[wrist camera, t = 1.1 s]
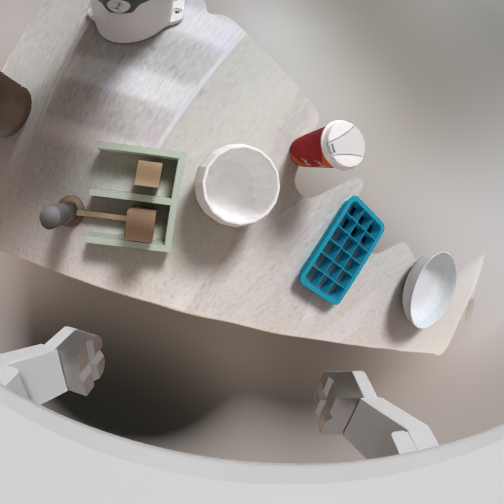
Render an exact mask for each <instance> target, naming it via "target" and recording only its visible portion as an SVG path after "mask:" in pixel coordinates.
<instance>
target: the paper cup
mask: <svg viewBox="0 0 504 504" xmlns="http://www.w3.org/2000/svg"><path fill="white" fill-rule="evenodd" d="M364 152H365V143H364V139H363V136H362V134H361V132H360V131H359V130H358V129H357V128H356V127H355V126H354V125H353V124H351V123H348V122H346V121H342V120H336V121H333V122H331V123H329V124H328V125H327V126H326V127H323V128H320V129H318V130H316V131H313V132H311V133H308V134H306V135H304V136H302V137H300V138H298V139H296V140H295V141H294V142H293V143H292V145H291V148H290V154H291V157H292V159H293V161H294V162H295V163H296V164H298V165H300V166H303V167H324V168H336V169H339V170H350V169H352V168H354V167H355V166H356V165H357V164H359V163H360V162H361V160H362V159H363V156H364Z"/></svg>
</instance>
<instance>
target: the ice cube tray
mask: <svg viewBox="0 0 504 504" xmlns="http://www.w3.org/2000/svg"><path fill="white" fill-rule="evenodd" d="M351 205H352V206H353V207H352V209H351V211H350V212H349V214H348V213H347V211H348V209H349V207H350V206H351ZM343 217H345V218H346V220H345V222H344V224H343V226H342V227H341V226H340V225H339V224H340V222H341V220H342V219H343ZM336 229H338V230H339V231H340V232H341V235H340V236H339V238H338V239H337V241H336V242H335V241H334V240H332V239H331V236H332V235H333V233H334V232H335V230H336ZM383 232H384V224H383V222H381V220H380V219H379V218H378V217H377V216H376V215H375V214H374V213H373V212H372V211H371V210H370V209H369V208H368V207H367V206H366V205H365V204H364V203H363V202H362V201H361V200H360V199H359V198H358V197H357V196H352V197H351V198H350V199H349V200H348V201H345V202H344V203H343V205H342V206H341V208H340V209H339V211H338V213H337V214H336V216H335V218H334V219H333V221H332V222H331V224H330V225H329V227H328V229H327V230H326V232H325V233H324V235H323V237H322V238H321V240H320V241H319V243H318V244H317V246H316V247H315V249H314V251H313V252H312V254H311V255H310V257H309V258H308V260H307V261H306V263H305V264H304V266H303V267H302V269H301V271H300V281H301V284H303V285H304V286H306V287H307V288H309V289H310V290H312V291H313V292H315V293H316V294H318V295H319V296H321V297H322V298H324V299H325V300H327V301H328V302H330V303H331V304H333V305H337V304H339V303H340V302H341V300H342V299H343V297H344V296H345V294H346V293H347V291H348V290H349V288H350V286H351V285H352V283H353V282H354V280H355V279H356V277H357V275H358V274H359V272H360V271H361V269H362V267H363V266H364V264H365V262H366V261H367V259H368V257H369V256H370V254H371V252H372V251H373V249H374V247H375V246H376V244H377V242H378V240H379V239H380V237H381V235H382V234H383ZM347 239H349V240H350V241H351V242H350V243H349V245H348V247H347V248H346V250H344V249H343V248H342V247H343V245H344V244H345V242H346V240H347ZM328 241H329V242H330V243H332V244H333V245H334V246H333V247H332V249H331V251H330V252H329V254H328V255H326V254H325V253H324V252H322V251H323V249H324V247H325V246H326V244H327V243H328ZM360 241H362V243H363V245H361V244H360ZM357 247H358V248H359V249H360V250H359V252H358V254H357V255H356V257H355V258H354V257H352V254H353V253H354V251H355V249H356V248H357ZM340 251H341V252H342V253H343V255H342V256H341V258H340V259H339V261H338V263H336V262H335V261H334V259H335V258H336V256H337V255H338V253H339V252H340ZM320 254H322V255H323V256H324V257H325V260H324V262H323V263H322V265H321V266H320V268H319V269H318V268H317V267H316V266H314V265H313V264H314V263H315V261H316V260H317V258H318V257H319V255H320ZM349 259H351V260H352V261H353V262H352V263H351V265H350V267H349V268H348V270H347V271H346V270H345V269H344V267H345V265H346V264H347V262H348V261H349ZM332 263H333V264H334V265H336V266H335V267H334V269H333V270H332V272H331V273H330V275H329V276H328V275H326V274H325V273H326V272H327V270H328V269H329V267H330V266H331V264H332ZM311 267H314V268H315V269H316V270H318V271H317V272H316V274H315V275H314V277H313V278H312V280H311V281H310V282H309V281H307V280H306V275H307V273H308V272H309V270H310V269H311ZM342 271H343V272H345V275H344V276H343V278H342V279H341V281H340V282H339V283H337V282H336V280H337V278H338V276H339V275H340V273H341V272H342ZM324 275H325V276H326V277H327V280H326V281H325V283H324V284H323V286H322V287H321V289H319V288H318V287H317V286H318V284H319V283H320V281H321V280H322V278H323V277H324ZM334 283H335V284H337V287H336V289H335V290H334V292H333V293H332V294H329V295H328V294H327V293H328V292H329V290H330V289H331V287H332V286H333V284H334Z"/></svg>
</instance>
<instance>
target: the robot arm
mask: <svg viewBox="0 0 504 504" xmlns="http://www.w3.org/2000/svg"><path fill="white" fill-rule="evenodd" d="M184 6H185V0H91V7H90V8H89V10H88V12H87V13H88V17H89V18H90V19H92V20H93V21H94V22H95V24H96V27H97V29H98V31H99V33H100V34H101V35H102V36H103V37H104V38H106V39H107V40H110V41H113V42H117V43H132V42H138V41H141V40H144V39H147V38H149V37H151V36H153V35H155V34H157V33H158V32H160V31H161V30H162V29H164V28H165V27H167V26H171V25H174V24H177V23H179V22H181V21H182V20H183V15H184ZM176 12H179V13H176ZM101 347H102V341H101V338H100V337H99V336H97V335H94V334H91V333H87V332H84V331H81V330H77V329H75V328H71V327H64V328H63V329H62V330H60V331H59V332H58V333H57V334H56V335H55V336H54V337H53V338H52V339H50V340H49V341H48V342H47V343H46V344H45V345H43V344H39V345H35V346H31V347H27V348H23V349H19V350H15V351H11V352H7V353H3V354H0V504H504V424H502V425H499V426H497V427H494V428H492V429H489V430H487V431H484V432H481V433H478V434H476V435H472V436H469V437H466V438H463V439H460V440H457V441H453V442H450V443H446V444H443V445H439V444H438V443H437V441H436V439H435V437H434V435H433V434H432V432H431V430H430V429H429V427H428V426H427V425H426V424H424V423H422V422H421V421H419V420H417V419H416V418H414V417H412V416H411V415H409V414H407V413H405V412H404V411H402V410H401V409H399V408H398V407H396V406H394V405H393V404H391V403H390V402H388V401H386V400H385V399H383V398H381V397H377V395H376V393H375V391H374V389H373V388H372V385H371V383H370V382H369V380H368V378H367V376H366V374H365V372H363V371H324V372H323V374H322V376H321V379H320V381H321V384H322V385H321V386H320V387H319V388H318V389H317V391H316V394H315V399H314V409H315V413H316V414H317V415H319V418H318V421H317V422H318V427H319V430H320V434H343V436H344V437H345V438H346V439H347V440H348V441H349V442H350V443H351V444H352V445H353V446H354V447H355V448H356V449H357V450H358V451H359V452H360V453H361V454H362V455H363V456H364V457H365V458H366V459H363V460H354V461H342V462H327V463H267V462H251V461H239V460H231V459H222V458H215V457H207V456H201V455H195V454H189V453H184V452H179V451H174V450H169V449H165V448H160V447H156V446H152V445H148V444H144V443H141V442H136V441H133V440H130V439H126V438H123V437H120V436H117V435H114V434H110V433H107V432H104V431H102V430H98V429H96V428H93V427H90V426H87V425H85V424H82V423H80V422H77V421H75V420H72V419H70V418H68V417H65V416H63V415H60V414H58V413H56V412H54V411H52V410H50V409H47V408H45V407H43V406H41V405H40V404H43V403H45V402H46V401H48V400H50V399H52V398H54V397H56V396H58V395H60V394H62V393H64V392H66V391H68V390H71V391H73V392H76V393H80V394H82V395H86V396H87V395H88V393H89V392H90V391H91V389H92V388H93V386H94V382H93V381H94V380H96V379H99V378H100V376H101V375H102V373H103V369H104V356H103V354H102V353H101V351H100V349H101Z"/></svg>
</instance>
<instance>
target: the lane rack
mask: <svg viewBox="0 0 504 504" xmlns="http://www.w3.org/2000/svg"><path fill="white" fill-rule="evenodd" d="M97 148H98V149H99V150H101V151H106V152H115V153H124V154H132V155H140V156H148V157H155V158H162V159H169V160H176V161H177V165H176V170H175V176H174V181H173V187H172V193H171V198H168V197H161V196H154V195H146V194H138V193H130V192H122V191H114V190H105V189H96V188H93V189H90V191H89V195H92V196H101V197H109V198H118V199H126V200H134V201H142V202H150V203H157V204H165V205H169V212H168V219H167V226H166V233H165V240H164V241H161V240H153V241H152V243H148V242H140V241H132V240H124V236H120V235H112V234H104V233H96V232H89V233H88V234H86V235H85V237H84V242H87V243H95V244H103V245H111V246H119V247H128V248H136V249H144V250H153V251H161V252H169V253H170V252H171V244H172V237H173V230H174V223H175V216H176V210H177V203H178V197H179V191H180V185H181V180H182V174H183V169H184V163H185V158H186V153H183V152H177V151H171V150H164V149H157V148H150V147H142V146H134V145H126V144H117V143H107V142H98V145H97Z"/></svg>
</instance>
